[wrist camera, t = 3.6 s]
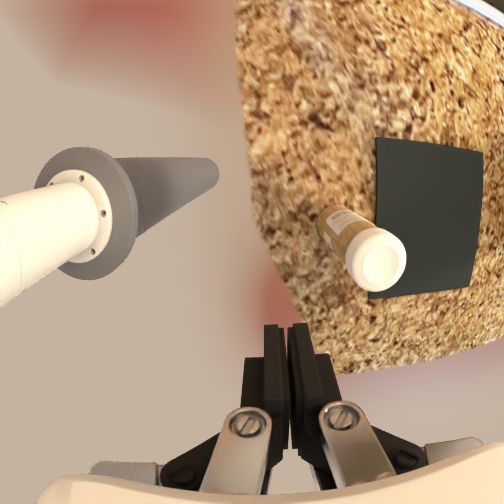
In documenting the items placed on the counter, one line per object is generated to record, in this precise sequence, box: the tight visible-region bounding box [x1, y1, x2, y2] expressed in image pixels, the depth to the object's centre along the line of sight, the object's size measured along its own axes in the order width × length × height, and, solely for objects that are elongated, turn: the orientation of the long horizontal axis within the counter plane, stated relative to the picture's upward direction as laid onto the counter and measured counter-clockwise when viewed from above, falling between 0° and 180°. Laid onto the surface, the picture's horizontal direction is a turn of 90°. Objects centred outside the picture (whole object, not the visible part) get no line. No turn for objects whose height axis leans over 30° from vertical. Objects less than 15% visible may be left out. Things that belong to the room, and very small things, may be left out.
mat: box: [369, 137, 483, 299], centre depth 31 cm, size 18×20×1 cm
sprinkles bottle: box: [317, 205, 406, 292], centre depth 25 cm, size 5×5×13 cm
